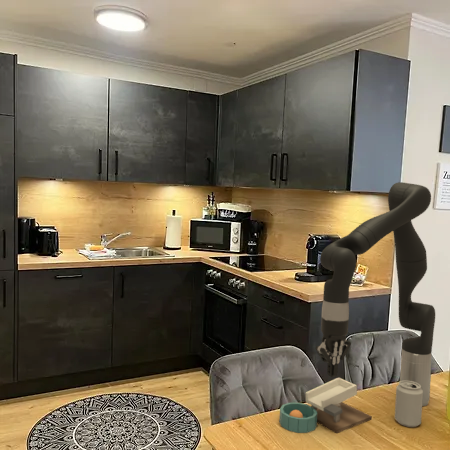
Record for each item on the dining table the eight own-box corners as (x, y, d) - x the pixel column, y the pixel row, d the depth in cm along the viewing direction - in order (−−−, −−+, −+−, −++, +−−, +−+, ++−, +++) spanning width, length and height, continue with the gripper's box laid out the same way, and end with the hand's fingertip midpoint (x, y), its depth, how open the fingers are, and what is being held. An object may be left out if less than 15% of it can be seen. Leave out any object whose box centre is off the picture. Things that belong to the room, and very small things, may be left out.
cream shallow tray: (338, 386, 149) (338, 377, 148) (367, 399, 140) (367, 389, 139) (305, 401, 140) (305, 392, 140) (334, 416, 131) (334, 406, 131)
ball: (284, 411, 135) (288, 426, 134) (294, 411, 132) (298, 426, 131) (294, 408, 138) (297, 423, 136) (303, 408, 135) (307, 422, 134)
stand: (337, 402, 152) (338, 384, 151) (371, 419, 141) (372, 400, 140) (302, 414, 142) (303, 395, 142) (336, 433, 131) (337, 412, 131)
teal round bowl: (297, 412, 144) (298, 399, 143) (323, 426, 135) (324, 413, 135) (272, 420, 137) (273, 407, 137) (297, 436, 129) (298, 422, 129)
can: (423, 430, 135) (425, 390, 135) (396, 426, 137) (398, 387, 136) (418, 418, 143) (420, 380, 142) (392, 415, 144) (394, 377, 144)
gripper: (340, 310, 138) (337, 367, 139) (309, 316, 131) (306, 376, 132) (360, 316, 132) (357, 375, 133) (329, 322, 125) (326, 385, 126)
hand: (332, 375), depth 132 cm, fingers closed
